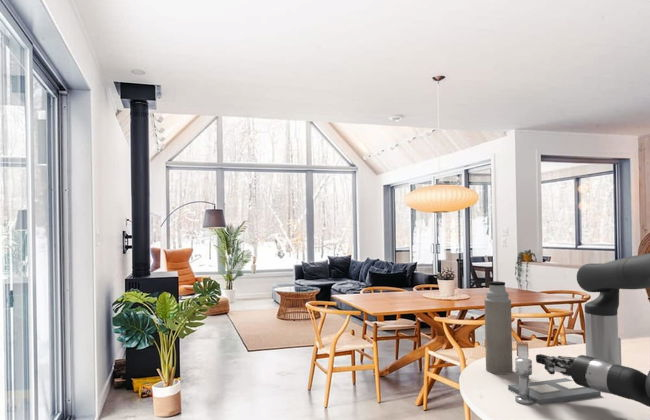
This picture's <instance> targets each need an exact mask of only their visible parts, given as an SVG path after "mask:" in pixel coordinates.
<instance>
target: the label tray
mask: <svg viewBox="0 0 650 420" xmlns="http://www.w3.org/2000/svg"><path fill="white" fill-rule="evenodd" d="M507 389H508V391H510V390H511V392H512V391H513V393H514V392H515V393H514V394H516V393H517V395H518V394H519V383H517V384H509V385H507ZM601 393H602V392H600V391H597V390H593V389H590V388H587V387H584V386H580V385H578V384H576V383H575V382H574V380H573V379H569V378H568V377H563V378H555V379H549V380H548V379H547V380H541V381H531V382H530V381H529V397H531V398H533V399H534V403H535V404H536V405H537V404H538V405H545V404H552V403H558V402H559V403H560V402H565V401H566V402H567V401H575V400H580V399H588V398H594V397H601V395H602V394H601Z"/></svg>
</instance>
